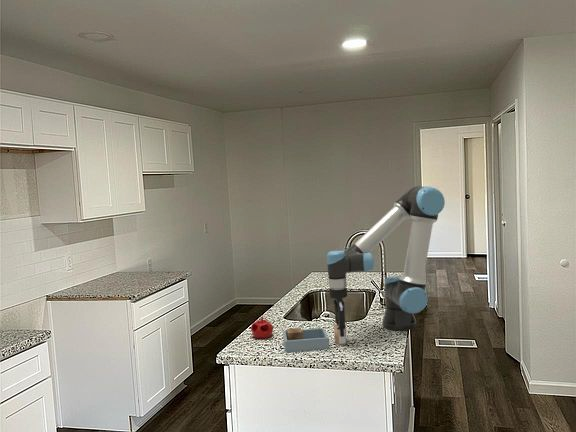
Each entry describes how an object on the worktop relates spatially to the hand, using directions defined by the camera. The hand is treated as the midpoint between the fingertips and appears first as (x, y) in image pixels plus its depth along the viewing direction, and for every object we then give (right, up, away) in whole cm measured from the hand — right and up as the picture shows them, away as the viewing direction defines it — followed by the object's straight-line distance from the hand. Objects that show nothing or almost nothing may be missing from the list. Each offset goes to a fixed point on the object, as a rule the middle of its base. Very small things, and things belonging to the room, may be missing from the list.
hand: (341, 341), depth 219 cm
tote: (-15, -1, -1) cm, 15 cm away
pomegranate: (-34, -1, +14) cm, 37 cm away
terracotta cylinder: (0, 0, 0) cm, 0 cm away
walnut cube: (-20, -1, -1) cm, 20 cm away
